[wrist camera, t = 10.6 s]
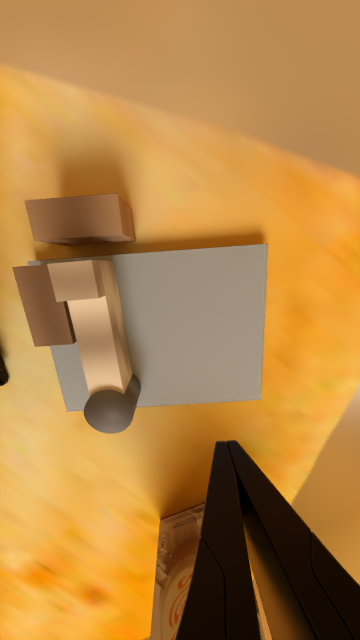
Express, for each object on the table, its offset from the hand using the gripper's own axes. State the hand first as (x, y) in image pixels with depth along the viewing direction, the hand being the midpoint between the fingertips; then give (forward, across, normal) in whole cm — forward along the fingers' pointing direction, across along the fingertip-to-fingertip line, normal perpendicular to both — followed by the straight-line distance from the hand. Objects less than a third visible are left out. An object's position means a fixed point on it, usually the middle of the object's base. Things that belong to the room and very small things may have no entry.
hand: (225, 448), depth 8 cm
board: (+12, +4, -1) cm, 13 cm away
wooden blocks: (+12, +9, -7) cm, 17 cm away
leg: (+11, +8, -1) cm, 14 cm away
